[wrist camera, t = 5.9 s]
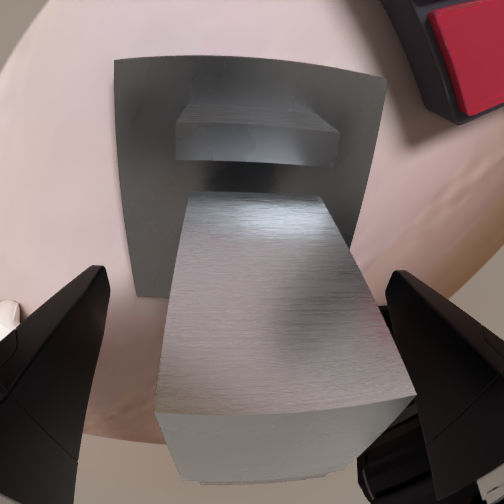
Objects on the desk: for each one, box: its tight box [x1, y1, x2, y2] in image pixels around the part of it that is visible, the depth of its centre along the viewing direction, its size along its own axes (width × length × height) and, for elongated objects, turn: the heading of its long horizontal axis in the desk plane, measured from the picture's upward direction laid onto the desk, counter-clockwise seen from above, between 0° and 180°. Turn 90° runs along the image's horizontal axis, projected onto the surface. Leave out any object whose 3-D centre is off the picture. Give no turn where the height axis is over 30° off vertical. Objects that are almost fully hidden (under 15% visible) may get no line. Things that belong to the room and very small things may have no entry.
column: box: [154, 191, 417, 485], centre depth 8 cm, size 4×4×7 cm
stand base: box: [114, 55, 388, 297], centre depth 13 cm, size 12×11×5 cm
